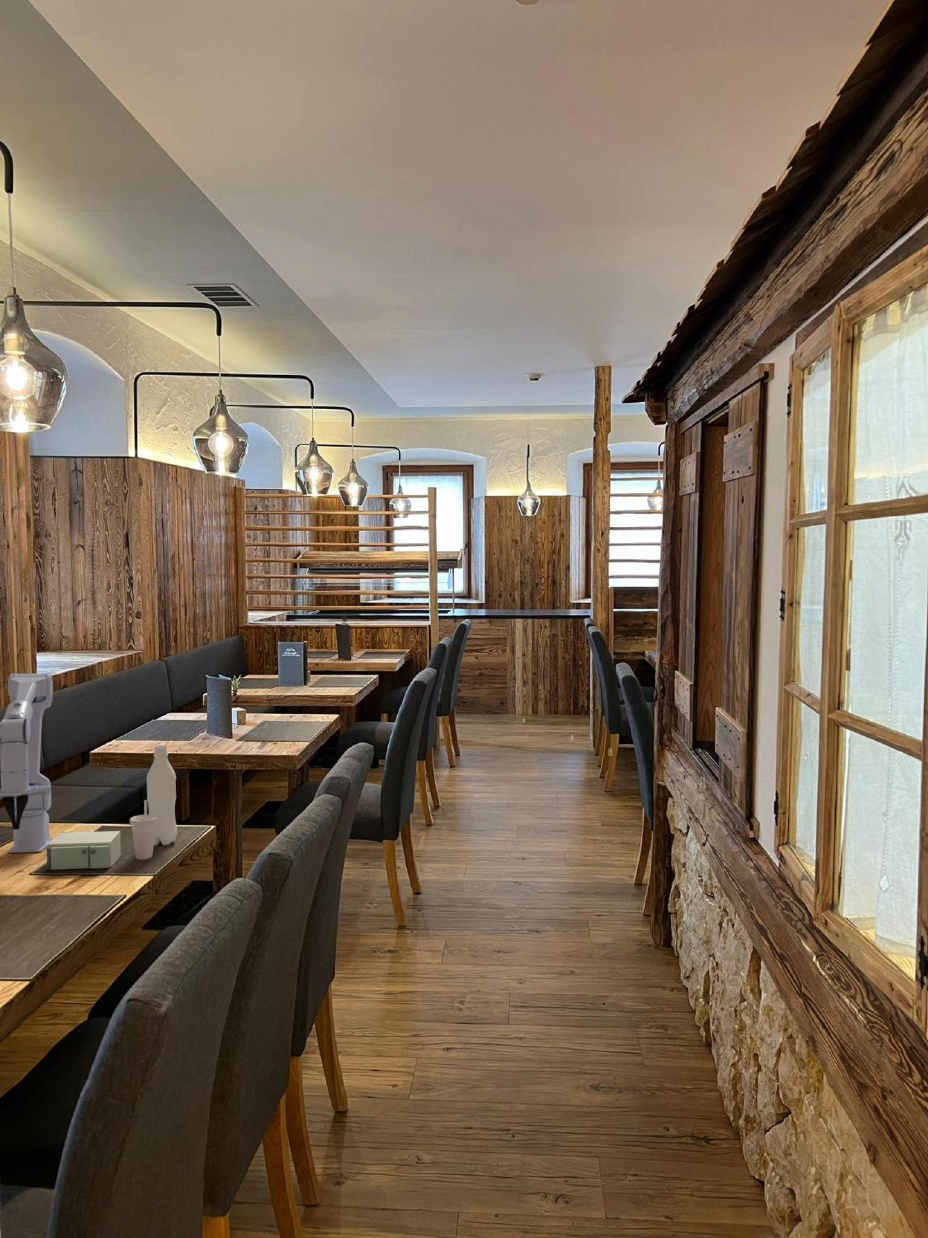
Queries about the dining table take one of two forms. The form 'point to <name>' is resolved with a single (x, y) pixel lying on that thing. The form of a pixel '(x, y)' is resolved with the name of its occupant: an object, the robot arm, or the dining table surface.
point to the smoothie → (143, 833)
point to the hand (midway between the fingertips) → (16, 828)
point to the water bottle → (162, 796)
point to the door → (68, 857)
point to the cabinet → (93, 845)
